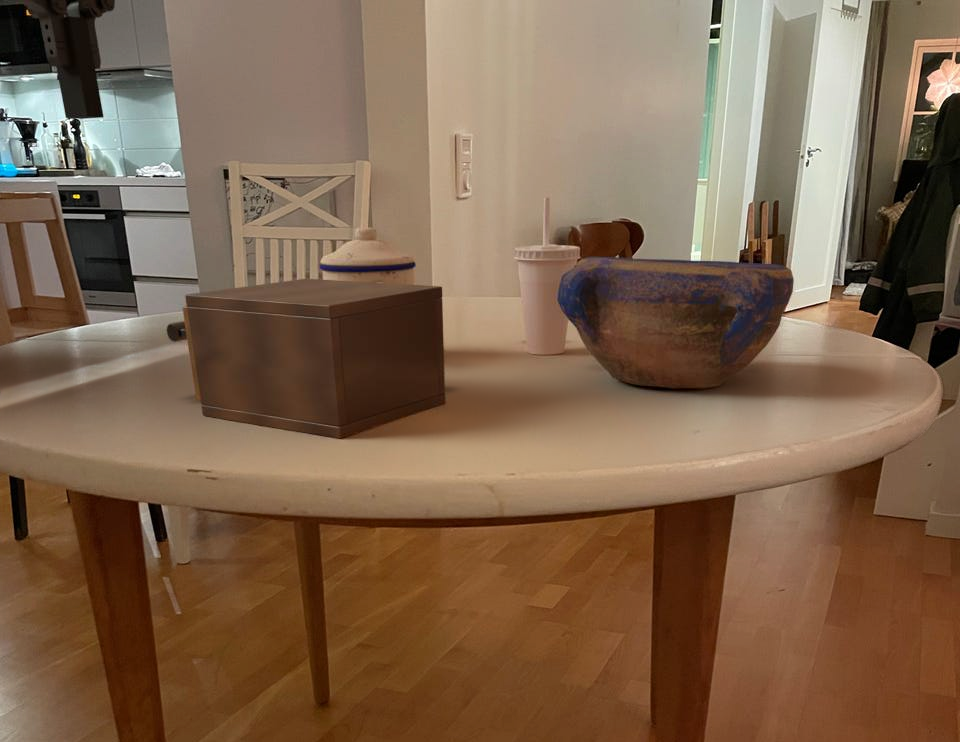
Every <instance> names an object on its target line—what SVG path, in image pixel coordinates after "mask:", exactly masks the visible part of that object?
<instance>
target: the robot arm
mask: <svg viewBox="0 0 960 742" xmlns="http://www.w3.org/2000/svg"><path fill="white" fill-rule="evenodd" d="M12 2H13V3H15V4H18V5H19V4H22V5H24V6H25V7H26V10H27V13H28V15H30V17H32V18H34V19H38V20H39V23H40V29H41V35H42V39H43V40H42V41H43V43H44V44H43V45H44V50H45V56H46V60H47V63H48V64H49V66H50V67H54V68H56V72H57V78H58V83H59V89H60V94H61V100H62V104H63V110H64V115H65V118H66V119H78V120H86V119H99V118H100V119H101V118H104V116H105V115H104V111H103V106H102V99H101V93H100V88H99V87H100V86H99V83H98V77H97V70H100V69H101V64H102V60H101V59H102V58H101V53H100V47H99V43H98V42H99V41H98V36H97V29H96V19H98V18H101V17H103V14H105V13H109V12H113V11H114V9H115V6H116V0H12Z"/></svg>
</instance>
